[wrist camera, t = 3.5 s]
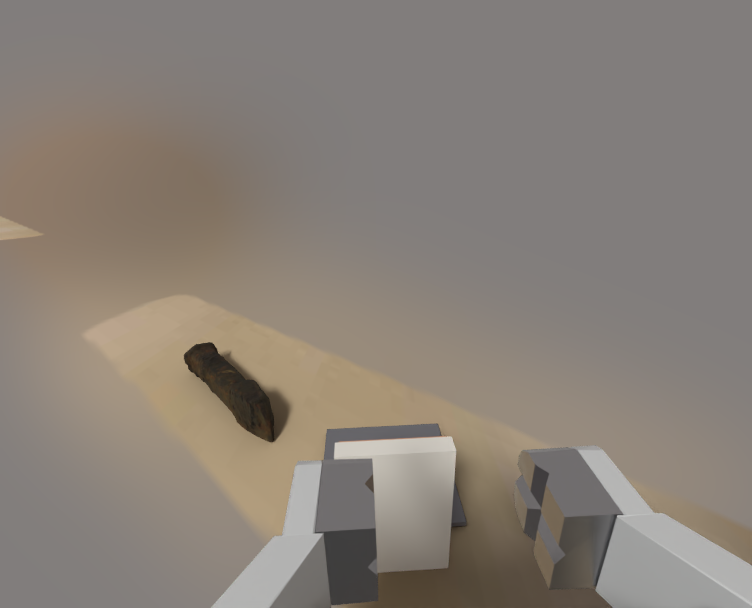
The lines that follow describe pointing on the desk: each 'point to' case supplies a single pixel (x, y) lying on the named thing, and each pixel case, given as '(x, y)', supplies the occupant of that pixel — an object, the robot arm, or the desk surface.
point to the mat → (392, 433)
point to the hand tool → (233, 390)
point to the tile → (409, 498)
